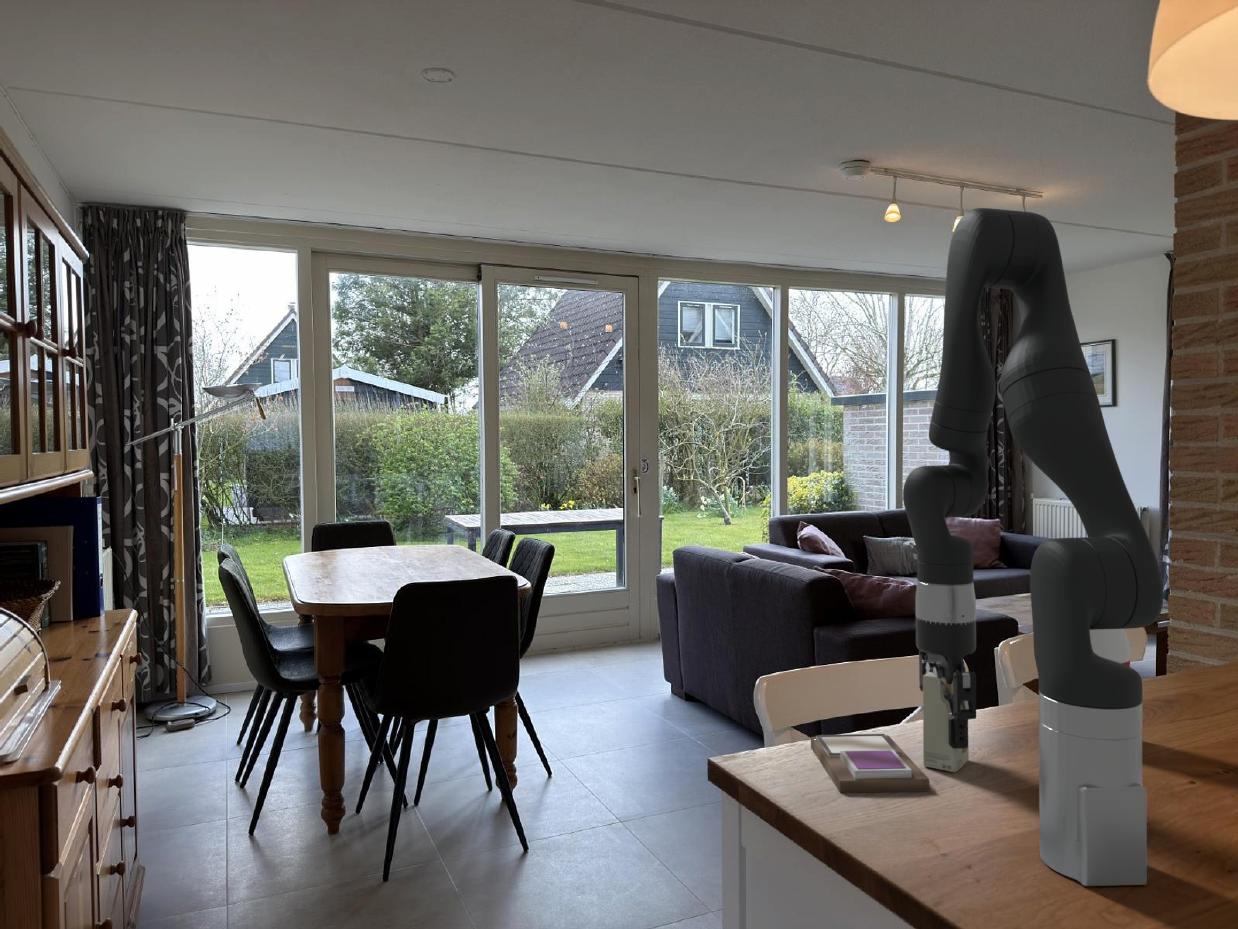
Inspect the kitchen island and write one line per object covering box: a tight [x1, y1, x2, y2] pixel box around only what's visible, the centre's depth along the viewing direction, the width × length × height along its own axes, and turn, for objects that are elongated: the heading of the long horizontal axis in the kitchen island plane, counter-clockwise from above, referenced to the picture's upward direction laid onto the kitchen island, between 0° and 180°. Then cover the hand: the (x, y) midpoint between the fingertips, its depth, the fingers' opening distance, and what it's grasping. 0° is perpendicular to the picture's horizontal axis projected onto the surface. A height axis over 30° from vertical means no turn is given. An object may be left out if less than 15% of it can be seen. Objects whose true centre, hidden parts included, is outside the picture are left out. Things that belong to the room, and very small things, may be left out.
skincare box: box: [922, 670, 970, 773], centre depth 116 cm, size 6×4×12 cm
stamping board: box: [810, 733, 930, 794], centre depth 115 cm, size 16×11×3 cm
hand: (946, 737), depth 116 cm, fingers closed on skincare box, 7 cm apart
